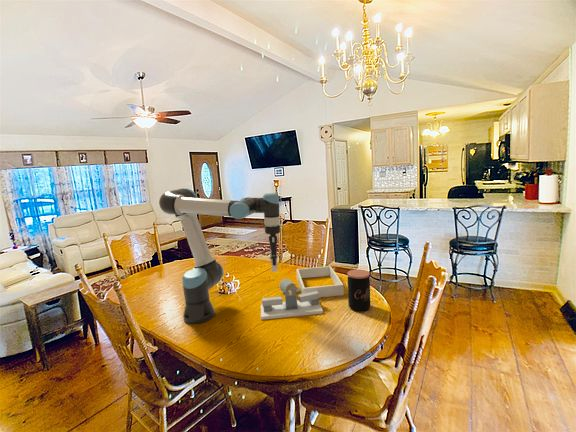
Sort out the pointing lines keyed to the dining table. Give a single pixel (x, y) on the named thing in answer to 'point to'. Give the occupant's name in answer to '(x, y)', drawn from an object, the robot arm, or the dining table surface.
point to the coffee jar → (359, 290)
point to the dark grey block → (291, 300)
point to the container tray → (322, 290)
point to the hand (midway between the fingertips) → (274, 266)
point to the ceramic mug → (288, 286)
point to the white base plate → (277, 309)
